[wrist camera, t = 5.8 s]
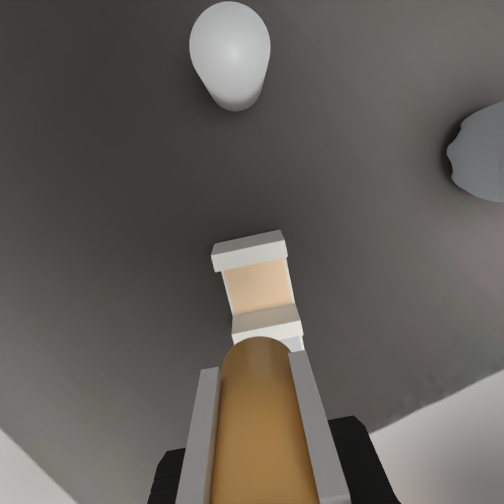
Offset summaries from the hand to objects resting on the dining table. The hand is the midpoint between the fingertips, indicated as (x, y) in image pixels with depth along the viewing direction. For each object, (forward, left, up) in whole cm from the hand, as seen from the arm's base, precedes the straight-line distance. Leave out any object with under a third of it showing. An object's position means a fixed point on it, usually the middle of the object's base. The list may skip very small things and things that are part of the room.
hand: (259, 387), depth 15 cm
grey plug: (-14, +2, -13) cm, 19 cm away
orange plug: (0, 0, -2) cm, 2 cm away
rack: (+3, 0, -13) cm, 13 cm away
